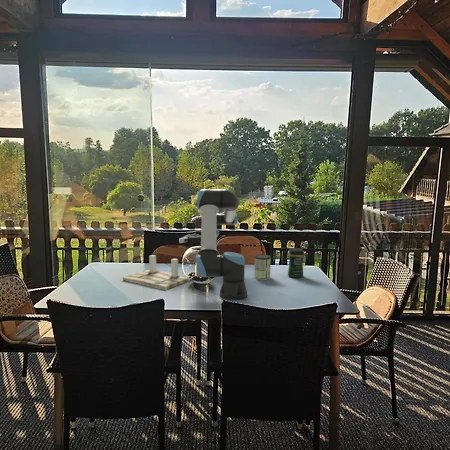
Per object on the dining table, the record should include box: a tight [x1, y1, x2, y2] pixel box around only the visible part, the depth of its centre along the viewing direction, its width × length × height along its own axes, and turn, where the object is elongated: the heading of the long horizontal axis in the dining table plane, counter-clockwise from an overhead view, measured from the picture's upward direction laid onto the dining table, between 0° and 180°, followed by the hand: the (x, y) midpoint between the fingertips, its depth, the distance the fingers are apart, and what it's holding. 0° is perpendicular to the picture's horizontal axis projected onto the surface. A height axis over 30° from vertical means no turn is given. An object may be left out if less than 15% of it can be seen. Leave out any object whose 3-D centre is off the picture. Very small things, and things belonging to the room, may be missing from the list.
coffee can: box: [253, 253, 272, 281], centre depth 253 cm, size 10×10×14 cm
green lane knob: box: [170, 258, 181, 278], centre depth 245 cm, size 5×4×11 cm
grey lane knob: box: [148, 254, 159, 274], centre depth 254 cm, size 5×4×11 cm
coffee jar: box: [287, 247, 305, 279], centre depth 257 cm, size 10×8×19 cm
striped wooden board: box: [122, 269, 190, 291], centre depth 246 cm, size 24×34×2 cm
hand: (180, 240), depth 247 cm, fingers closed
